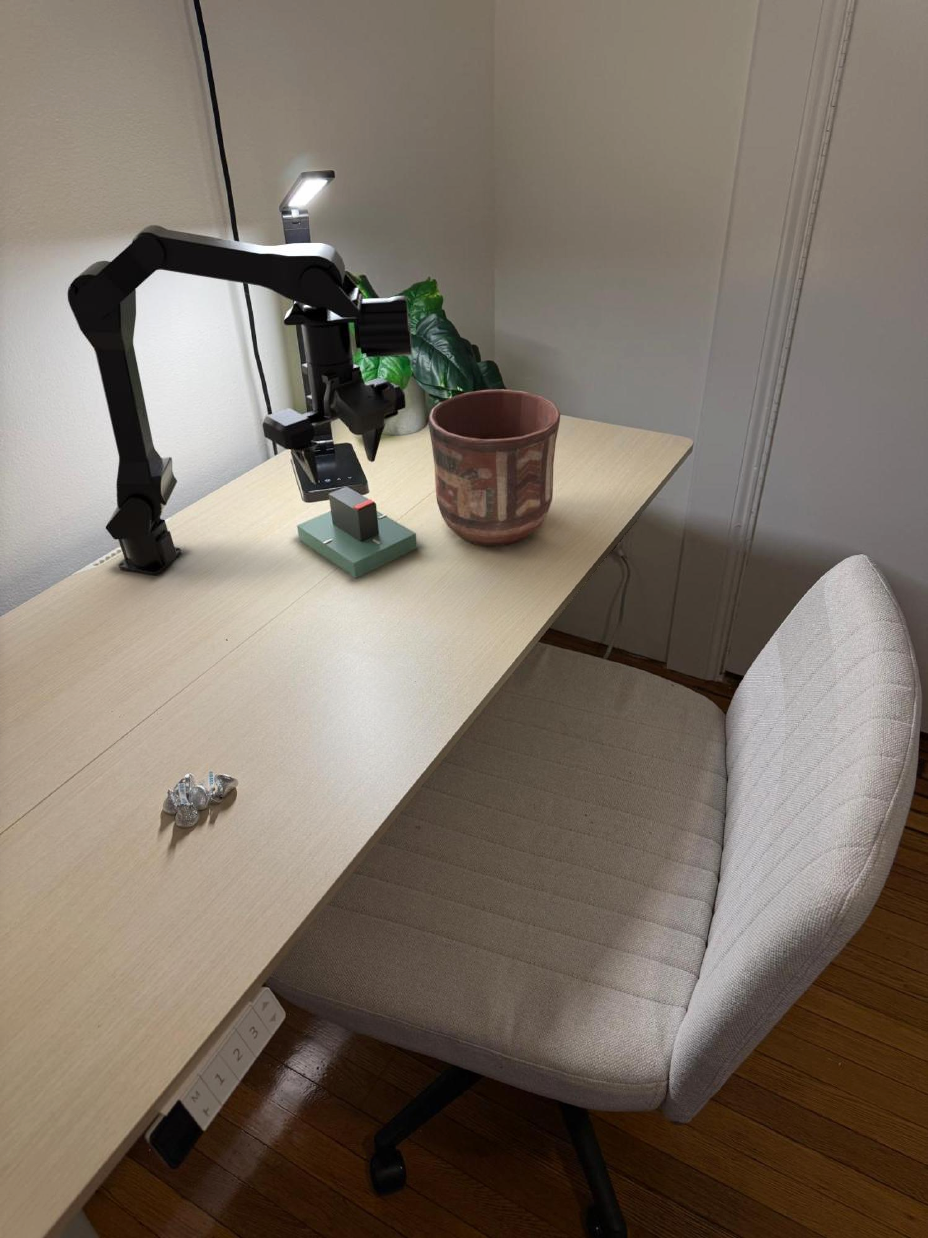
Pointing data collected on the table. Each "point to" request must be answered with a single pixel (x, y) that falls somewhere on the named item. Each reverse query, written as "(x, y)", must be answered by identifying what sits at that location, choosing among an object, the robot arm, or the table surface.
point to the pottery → (494, 463)
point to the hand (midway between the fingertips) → (343, 471)
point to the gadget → (354, 513)
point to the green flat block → (357, 543)
